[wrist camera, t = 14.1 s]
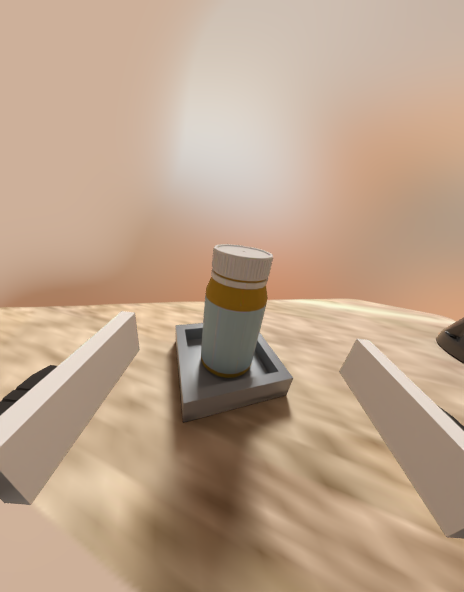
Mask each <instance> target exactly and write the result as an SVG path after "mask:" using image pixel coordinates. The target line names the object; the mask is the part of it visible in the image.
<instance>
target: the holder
mask: <svg viewBox="0 0 464 592" xmlns="http://www.w3.org/2000/svg"><path fill="white" fill-rule="evenodd" d="M202 332H203V323H199V324H187V325H176V350H177V361H178V372H179V384H180V395H181V406H182V417H183V422H187V421H191V420H195V419H198V418H202V417H206V416H210V415H213V414H217V413H221V412H225V411H228V410H232V409H236V408H240V407H243V406H247V405H251V404H255V403H258V402H262V401H266V400H269V399H273V398H277V397H281V396H284V395H287V392H288V390H289V387H290V385H291V382H292V380H293V377H292V376H291V374H290V373H289V372H288V370H287V369H286V368H285V366H284V365H283V364H282V362H281V361H280V360H279V358H278V357H277V355H276V354H275V353H274V351H273V350H272V349H271V347H270V346H269V345H268V343H267V342H266V341H265V339H264V338H263V337H262V335H261V334H260V332H259V336H258V340H257V344H256V348H255V352H254V356H253V360H252V364H251V366H250V368H249V370H248V371H247V372H245V373H244V374H242V375H240V376H237V377H232V378H224V377H219V376H217V375H215V374H213V373H211V372H210V371H208V370H207V369H206V368H205V367H204V365H203V363H202V361H201V345H202Z"/></svg>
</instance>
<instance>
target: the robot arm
mask: <svg viewBox="0 0 464 592" xmlns="http://www.w3.org/2000/svg"><path fill="white" fill-rule="evenodd" d="M436 341H437V342H438V344H439V345H440V346H441V347H442V348H443V349H444V350H446V351H447V352H448V353H450V354H451V355H453V356H454V357H456V358H457V359H459V360H461V361H462V362H464V318H462V319H460V320H459V321H457V322H455V323H453V324H452V325H450V326H448V327H447V328H445V329H444V330H442V331H441V333H440V334H439V335H438V337H437V338H436ZM139 350H140V349H139V341H138V333H137V325H136V317H135V313H132V312H124V311H121V312H120V313H119V314H118V315H116V316H115V317H114V318H113V319H112V320H111V321H109V322H108V323H107V324H106V325H105V326H104V327H103V328H101V329H100V330H99V331H98V332H97V333H96V334H94V335H93V336H92V337H91V338H90V339H89V340H87V341H86V342H85V343H84V344H83V345H82V346H80V347H79V348H78V349H77V350H76V351H75V352H74V353H72V354H71V355H70V356H69V357H68V358H67V359H65V360H64V361H63V362H62V363H61V364H60V365H58V366H54V365H50V366H48V367H46V368H44V369H42V370H41V371H39V372H37V373H35V374H33V375H32V376H30V377H29V378H28V379H27V380H25V381H24V382H23V383H22V384H20V385H19V386H18V387H17V388H16V390H13V391H12V392H10V393H9V394H8V395H7V396H5V397H4V398H3V400H2V401H1V402H0V499H1V500H2V501H3V502H4V503H14V504H26V505H31V504H32V503H33V501H34V500H35V498H36V497H37V495H38V494H39V493H40V491H41V490H42V488H43V487H44V485H45V484H46V483H47V481H48V480H49V478H50V477H51V475H52V474H53V473H54V471H55V470H56V468H57V467H58V465H59V464H60V463H61V461H62V460H63V458H64V457H65V455H66V454H67V453H68V451H69V450H70V448H71V447H72V446H73V444H74V443H75V441H76V440H77V438H78V437H79V436H80V434H81V433H82V431H83V430H84V428H85V427H86V426H87V424H88V423H89V421H90V420H91V418H92V417H93V416H94V414H95V413H96V411H97V410H98V408H99V407H100V406H101V404H102V403H103V401H104V400H105V398H106V397H107V396H108V394H109V393H110V391H111V390H112V388H113V387H114V386H115V384H116V383H117V381H118V380H119V378H120V377H121V376H122V374H123V373H124V371H125V370H126V368H127V367H128V366H129V364H130V363H131V361H132V360H133V359H134V357H135V356H136V354H137V353H138V351H139ZM339 372H340V374H341V375H342V377H343V378H344V380H345V381H346V383H347V385H348V386H349V388H350V389H351V391H352V392H353V394H354V395H355V397H356V398H357V400H358V401H359V403H360V405H361V406H362V408H363V409H364V411H365V412H366V414H367V415H368V417H369V418H370V420H371V422H372V423H373V425H374V426H375V428H376V429H377V431H378V432H379V434H380V435H381V437H382V439H383V440H384V442H385V443H386V445H387V446H388V448H389V449H390V451H391V452H392V454H393V455H394V457H395V459H396V460H397V462H398V463H399V465H400V466H401V468H402V469H403V471H404V472H405V474H406V476H407V477H408V479H409V480H410V482H411V483H412V485H413V486H414V488H415V489H416V491H417V493H418V494H419V496H420V497H421V499H422V500H423V502H424V503H425V505H426V506H427V508H428V509H429V511H430V513H431V514H432V516H433V517H434V519H435V520H436V522H437V523H438V525H439V526H440V528H441V530H442V531H443V533H444V534H445V536H446V537H451V538H464V426H463V425H461V424H460V423H459V422H458V421H457V420H456V419H455V418H454V417H453V416H451V415H450V414H448V413H447V412H446V411H444V410H443V409H442V408H440V407H439V406H437V405H436V404H435V403H434V402H433V401H432V400H431V399H430V398H429V397H428V396H427V395H426V394H425V393H424V392H423V391H422V390H421V389H419V388H418V387H417V386H416V385H415V384H414V383H413V382H412V381H411V380H410V379H409V378H408V377H407V376H406V375H405V374H404V373H403V372H402V371H401V370H400V369H399V368H398V367H397V366H396V365H394V364H393V363H392V362H391V361H390V360H389V359H388V358H387V357H386V356H385V355H384V354H383V353H382V352H381V351H380V350H379V349H378V348H377V347H376V346H375V345H374V344H373V343H372V342H370V341H369V340H363V339H356V341H355V343H354V345H353V347H352V349H351V351H350V352H349V354H348V356H347V358H346V360H345V362H344V364H343V366H342V367H341V369H340V371H339Z"/></svg>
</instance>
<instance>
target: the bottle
mask: <svg viewBox="0 0 464 592" xmlns="http://www.w3.org/2000/svg"><path fill="white" fill-rule="evenodd" d="M272 260H273V255H272V254H271V253H269V252H267V251H264V250H261V249H257V248H252V247H247V246H240V245H229V244H222V245H216V246H215V247H214V250H213V261H212V267H213V268H212V275H211V276H212V277H211V279H210V281H209V283H208V285H207V288H206V296H205V308H204V320H203V332H202V345H201V361H202V363H203V365H204V367H205V368H206V369H207V370H208V371H210V372H211V373H213V374H215V375H217V376H219V377H224V378H232V377H237V376H240V375H242V374H244V373H245V372H247V371H248V370H249V368H250V366H251V364H252V360H253V356H254V352H255V348H256V344H257V340H258V336H259V332H260V328H261V324H262V320H263V315H264V311H265V307H266V302H267V291H266V284H267V281H268V276H269V273H270V269H271V264H272Z"/></svg>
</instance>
